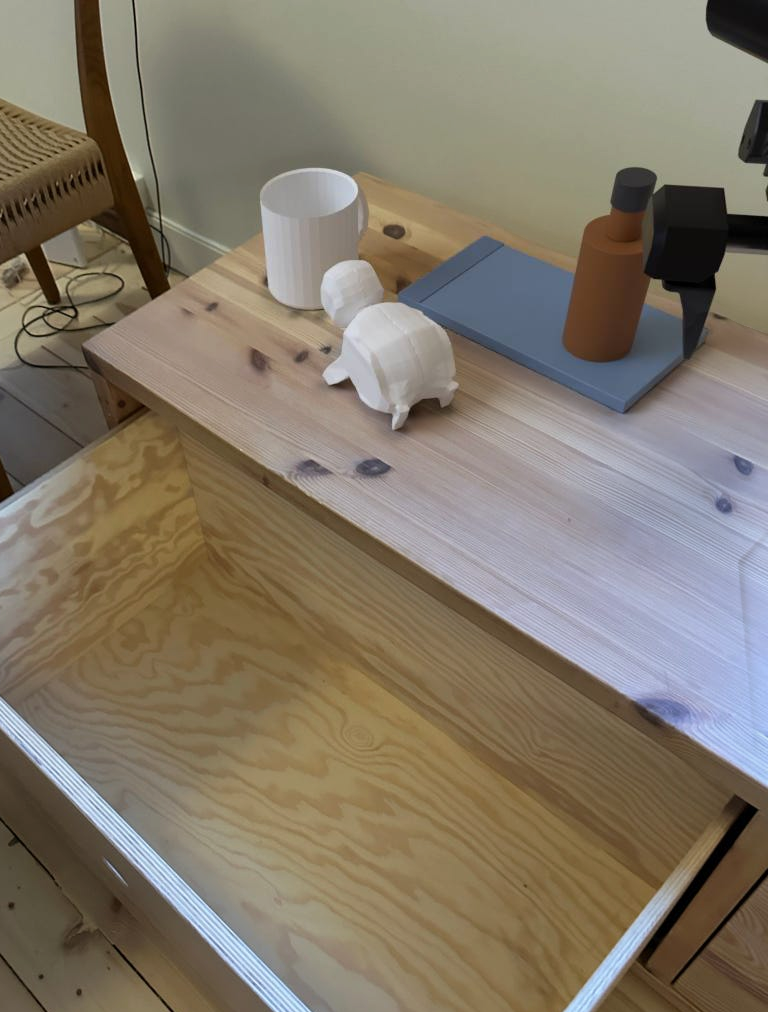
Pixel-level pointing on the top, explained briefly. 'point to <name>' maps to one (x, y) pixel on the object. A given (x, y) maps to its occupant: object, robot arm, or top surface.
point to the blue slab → (540, 321)
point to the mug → (309, 231)
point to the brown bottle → (611, 274)
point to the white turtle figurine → (385, 344)
